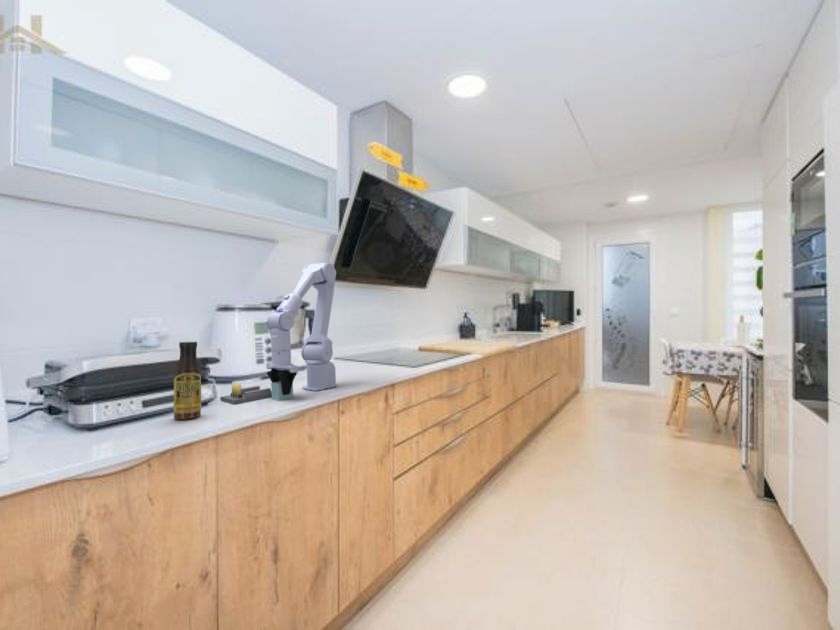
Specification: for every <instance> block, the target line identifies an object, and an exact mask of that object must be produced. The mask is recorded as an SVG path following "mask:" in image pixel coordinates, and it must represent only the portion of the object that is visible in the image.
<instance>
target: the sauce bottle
mask: <svg viewBox="0 0 840 630" xmlns="http://www.w3.org/2000/svg"><path fill="white" fill-rule="evenodd" d="M197 347H198V342H197V341H194V340H193V341H189V340H186V341H185V340H184V341H179V345H178V348H179V359H178V361H177V363H176V364H175V366H174V377H173V418H174V419H175V420H178V419H180V420H184V419H186V420H191V418H192V419H197V418H199V416H201V413H202V412H201V411H202V404H201V366H202V365H201V363H200V362H199V360H198V358H197ZM196 417H197V418H196ZM184 421H185V420H184Z"/></svg>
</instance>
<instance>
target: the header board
mask: <svg viewBox="0 0 840 630" xmlns="http://www.w3.org/2000/svg"><path fill="white" fill-rule="evenodd" d="M219 398H220V400H221V402H223V401H224V403H227V404H231V405H233V406H234V405H239V404H243V403H249V402H254V401H259V400H265V399H268V398H269V399H270V398H272V391H271V387H267V388H261V387H260V385H255V386H254V385H253V386H250V387H244V388H242V384H241V383H236V382H233V383H231V392H230V395H224V396H220V397H219Z"/></svg>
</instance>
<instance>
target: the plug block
mask: <svg viewBox="0 0 840 630" xmlns="http://www.w3.org/2000/svg"><path fill="white" fill-rule="evenodd" d="M270 385H271V386H270V388H271V391H272V397H271V400H276V401H283V400H288V399H293V398H294V382H293V383H292V387H291V392H290V394H288V395H283V393H282V387H281V381H279V382H274V383H272V382H270ZM292 397H293V398H292Z"/></svg>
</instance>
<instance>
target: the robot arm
mask: <svg viewBox="0 0 840 630" xmlns="http://www.w3.org/2000/svg"><path fill="white" fill-rule="evenodd" d="M336 276H337V271H336V268H335V266H334V264H333V263H332V262H330V261H326V262H320V263H307V264H306V265H305V266H304V267H303V269H302V271H301V277H300V279H299V280H298V283H297V284H296V286H295V288H294V289H293V291H292V293H288V294H285V295H284V296H283V300H282V302H281V303H280V304H279V306H278V307H276V310H275V311H274V312H271V313H270V314H269V315H268V317H267V320H266V321H265V324H266V327H267V328H268V331H269V335H270V349H271V350H270V351H271V362H266V365H265V366H266V370H269V371H267V372H266V375H267V376H268V378H269V380H270V383H274V382H279V381H281V387H282V393H283V395H288V394H290V392H291V387H292V383H293V384H294V380H295V378H296V376H297V374H298V373H299V372H298V371H299V369H298V368H299V365H297V364H293V363H292V351H291V350H292V349H291V346H292V345H291V343H292V342H291V329H292V328H293V327H294V325H295V319H296V316H297V314H298V312H299V310H300V309H301V308H302V305H303V298H304V297H305V296H306V294H307V293H308V291H309V290H310V288H312V287H313V288H314V289H316V291H317V297H316V303H315V304H316V305H315V309H314V310H315V311H314V316H313V321H312V329H311V334H310V335H309V336H307V338H305V340H304V344H303V346H302V348H301V351H300V353H301V354H300V355H301V357H302V358H301V359H303V360H304V363H305V364H306V385H307V386H303V387H301V389H303V390H309V391H313V392H317V391H322V390H326V388H327V389H332V388H335V386H337V387H338V385H337V379H336V378H337V377H336V376H337V375H336V366H335V364H334V363H333V362H332V361H331V360H332V358H333V355H334V354H333V353H334V351H333V341H332V340H331V339H330V337H328V333H329V326H330V319H331V312H332V307H333V300H334V293H335V284H336ZM331 387H332V388H331Z"/></svg>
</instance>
